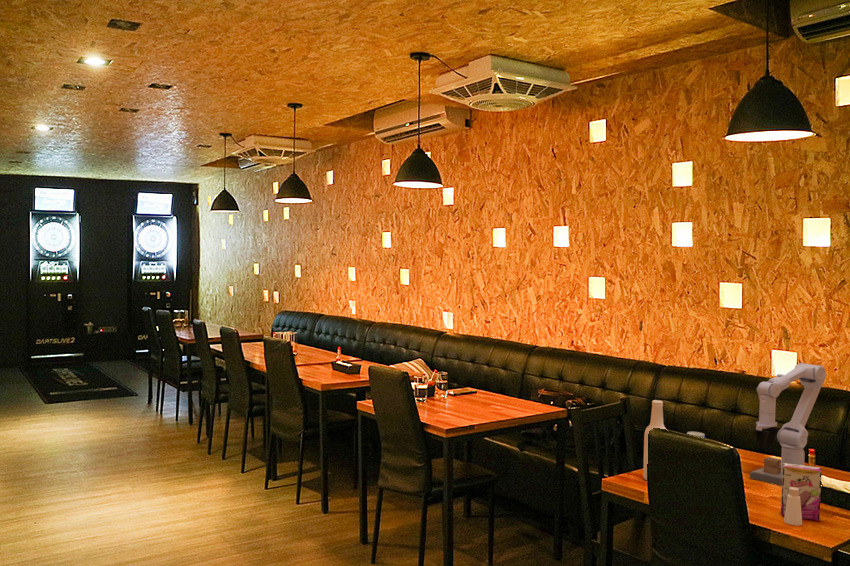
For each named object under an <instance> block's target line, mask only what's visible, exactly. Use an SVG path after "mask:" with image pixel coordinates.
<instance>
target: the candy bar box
mask: <svg viewBox="0 0 850 566" xmlns="http://www.w3.org/2000/svg"><path fill="white" fill-rule="evenodd" d="M821 469H822V468H821V467H819V466H818V467H817V466H811V465H810V466H809V465H805V464H804V465H796V464H789V463H783V467H782V469H781V471H782V486H781V493H780V495H781V496H780V515H781V516H783V517H784V516H785V509H786V502H787V496H788V495H789V488H790V487H795V488H798V489H799V491H798V492H799V494H798V496H800V501H801V514H802V520H810V521H817V522H820V514H821V493H822V492H821V491H822V470H821Z"/></svg>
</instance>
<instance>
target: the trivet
mask: <svg viewBox="0 0 850 566" xmlns="http://www.w3.org/2000/svg"><path fill="white" fill-rule="evenodd" d="M750 478H751V479H750ZM749 479H750V480H754V479H755V480H754V481H758V480H759V482H762V481H764V482H763V483H766V482H768V483H767V484H771V483H773V484H772V485H775V484H777V485H776V486H779V485H781V486H780V487H782V470H781V473H779V474H776V475H775V474H771V473H766V472H764V466H763V467H760V468H757V469H755V470H752V471H750V472H749Z"/></svg>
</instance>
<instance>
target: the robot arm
mask: <svg viewBox="0 0 850 566" xmlns="http://www.w3.org/2000/svg"><path fill="white" fill-rule="evenodd" d="M825 369H826V368H825V367H824V366H823V365H818V364H811V363H803V362H800V363H798V364H796V365H795V367H794V368H793V369H791V370H790V371H788V372H787V373H786V374H781V373H778V374H776V376H775V377H772V378H769V380H767V381H761V382H760V383H759V384H758V386H757V387H756V392H757V395H758V399H759V412H758V413H759V414H758V421H755V426H756V427H755V428H753V432H754V435H755V438H756V441H757V447H758V448H761V449H766V445H767V446H774V445H775V441H776V439H777V441H778V443H779V445H780V446H781V459H780V460H781V470H782V467H783V463H789V464H796V465H804V466H805V457H806V456H805V454H806V453H805V450H804V449H805V447H806V445H807V444H808V436H809V432H808V430H807V429H806V428H805V426H806V424H807V423H808V420H809V418H810V414H811V412H812V410H813V408H814V405H815V404H816V401H817V399H818V396H819V394H820V390H821V388H822V387H823V385H824V382H825V381H826V378H827V372H826V370H825ZM797 380H799V382H800V384H801V385H802V386H803V388H804V389H803V392H802V393H801V396H800V398H799V401H798V403H797V405H796V408H795V409H794V412H793V415H792V416H791V419H790V421H789V422H786V423H784V424H782V426H781V429H780V427H778V421H776V406H777V404H776V403H777V402H776V401H777V398H778V397H779V396H780V394H781V393H782V391H784V390H786V389H787V388H789V387H790V386H791V383H792V382H795V381H797Z"/></svg>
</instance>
